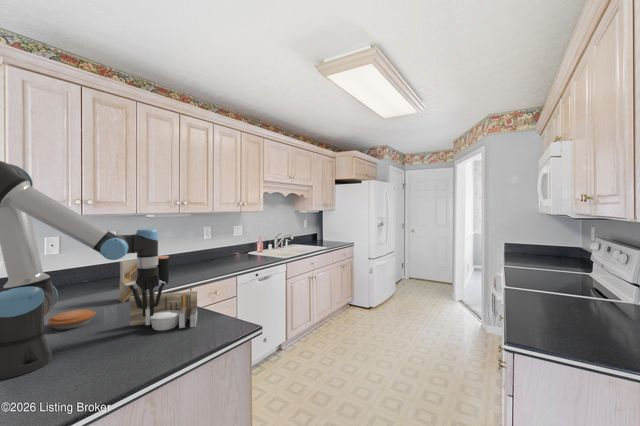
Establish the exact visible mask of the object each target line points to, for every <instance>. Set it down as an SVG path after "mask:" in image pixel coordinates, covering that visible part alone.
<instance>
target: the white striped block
mask: <svg viewBox="0 0 640 426" xmlns="http://www.w3.org/2000/svg"><path fill="white" fill-rule="evenodd" d="M197 322H198V307H197V308H192V311H191V314H190V319H189V327H190V328H196V327H197Z"/></svg>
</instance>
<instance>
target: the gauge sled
mask: <svg viewBox="0 0 640 426" xmlns="http://www.w3.org/2000/svg"><path fill="white" fill-rule="evenodd" d="M187 320H188V319H187V306H186V294H183V306H182V307H181V310H180V313H179V323H178V329H185V328H186V323H187Z"/></svg>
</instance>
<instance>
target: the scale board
mask: <svg viewBox="0 0 640 426" xmlns="http://www.w3.org/2000/svg"><path fill="white" fill-rule="evenodd" d="M183 294H186V306H187V320H190V314H191V311H192V308H197V309H198V291H197V290H193V291H181V292H169V293H161V297H160V301H159V304H158V306H156V307H154V313H156V312H159V311H164V310H178V311H180V310H181V307H182V306H183ZM156 297H157V294H154V303H155V301H156ZM140 299H141V303H142V296H140ZM147 307H150V301H149V294H147ZM141 325H146V317H143V309H141V308H137V305H136V301H135V298H134V296H132V297H130V299H129V326H131V327H132V326H133V327H134V326H141Z"/></svg>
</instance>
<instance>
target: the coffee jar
mask: <svg viewBox="0 0 640 426" xmlns="http://www.w3.org/2000/svg"><path fill="white" fill-rule="evenodd" d="M169 257H170V256H169V255H158V265H157V266H158V276H159V278H160V280H161V281H162V282H166V284H165V285H167V284H168V283H169V282H170V280H169V278H170V276H169V275H170V274H169V273H170V272H169V271H170V270H169V269H170V268H169V266H170V265H169V263H170V262H169ZM156 286H159V283H158V284H157V285H156Z"/></svg>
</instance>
